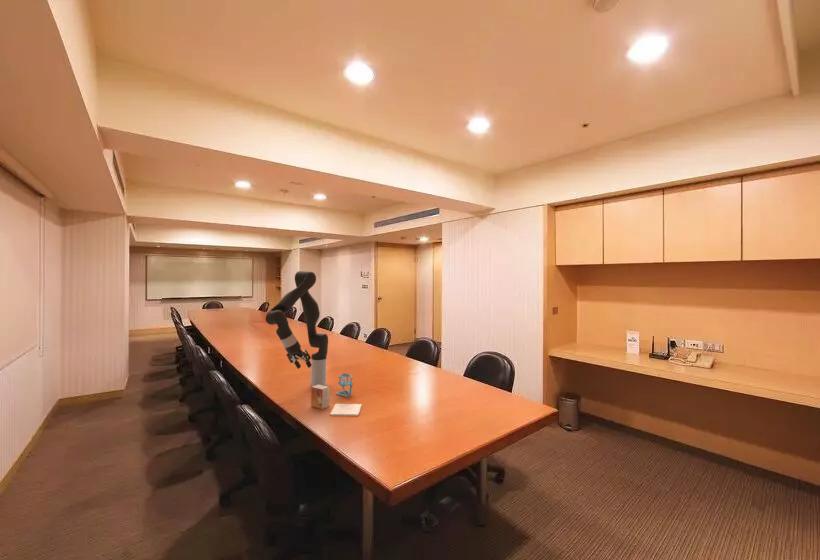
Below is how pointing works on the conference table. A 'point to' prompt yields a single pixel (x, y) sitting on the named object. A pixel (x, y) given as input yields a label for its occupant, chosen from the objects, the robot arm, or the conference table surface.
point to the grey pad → (346, 410)
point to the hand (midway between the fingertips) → (304, 367)
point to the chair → (345, 383)
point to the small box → (320, 396)
